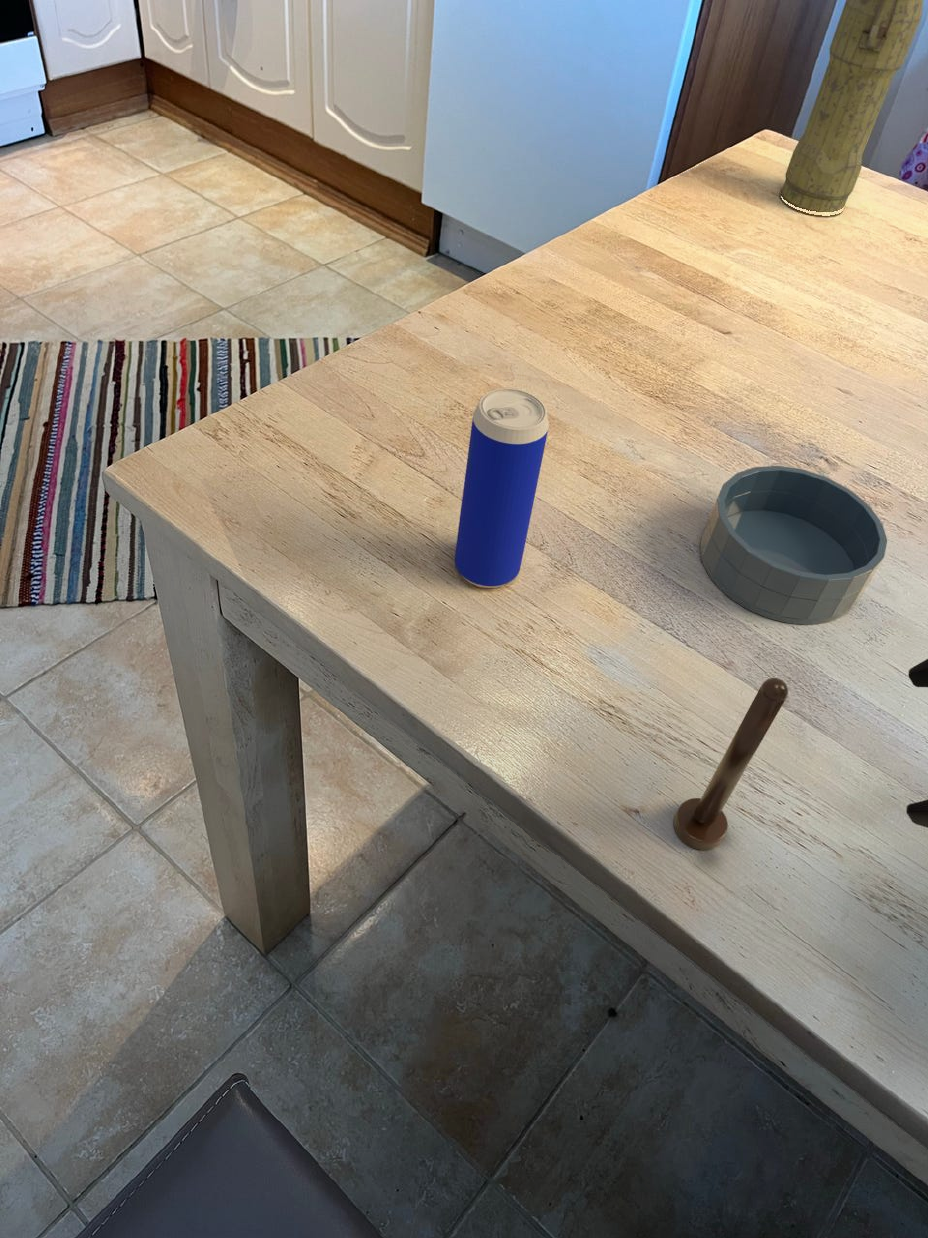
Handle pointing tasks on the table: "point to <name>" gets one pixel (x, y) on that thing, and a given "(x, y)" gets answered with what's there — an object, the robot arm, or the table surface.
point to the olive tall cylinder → (849, 101)
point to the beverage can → (500, 486)
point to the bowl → (792, 544)
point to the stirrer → (729, 771)
